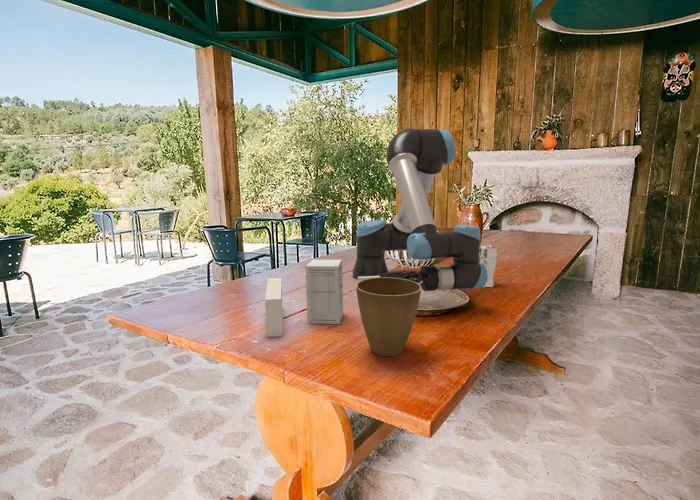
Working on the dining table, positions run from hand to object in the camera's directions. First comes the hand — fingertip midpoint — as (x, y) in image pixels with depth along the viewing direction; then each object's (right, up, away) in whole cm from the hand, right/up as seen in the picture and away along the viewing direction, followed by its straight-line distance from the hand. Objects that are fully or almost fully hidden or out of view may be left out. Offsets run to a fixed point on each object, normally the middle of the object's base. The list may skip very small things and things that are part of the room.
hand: (358, 281), depth 111 cm
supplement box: (-9, -11, +1) cm, 14 cm away
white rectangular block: (-24, -11, -1) cm, 26 cm away
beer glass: (+49, -5, +36) cm, 61 cm away
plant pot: (+7, -15, -20) cm, 26 cm away
